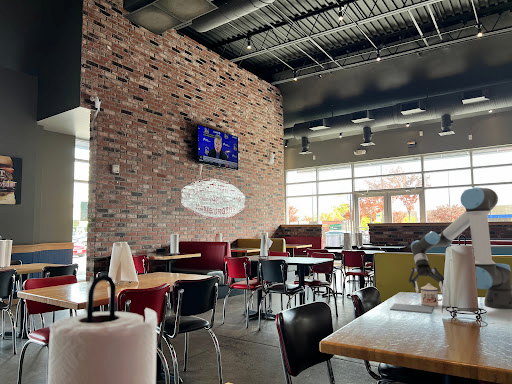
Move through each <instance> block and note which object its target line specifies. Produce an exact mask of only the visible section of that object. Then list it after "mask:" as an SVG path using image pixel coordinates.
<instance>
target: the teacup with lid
mask: <svg viewBox="0 0 512 384" xmlns="http://www.w3.org/2000/svg"><path fill="white" fill-rule="evenodd" d="M439 294H441V295H442V296H443V294H444V293H442V292H441V291H439V289H438V288H437V287H435V286H433V285H432V283H427V284H426V285H423V286H421V287H420V299H421V300H420V301H421V305H422V306H434V307H437V306H439V302H441V301H443V300H442V298H441V299H439Z"/></svg>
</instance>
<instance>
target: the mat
mask: <svg viewBox="0 0 512 384" xmlns="http://www.w3.org/2000/svg"><path fill="white" fill-rule="evenodd" d="M434 307H435V306H426V305H422V304H406V303H395V302H394V304H393V305H392V306H391V307H390V308H389V311H401V312H409V313H411V312H412V313H422V314H423V313H424V314H432V312H433V311H434Z"/></svg>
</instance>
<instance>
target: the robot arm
mask: <svg viewBox="0 0 512 384" xmlns="http://www.w3.org/2000/svg"><path fill="white" fill-rule="evenodd" d="M498 202H499V196H498V193H496V191H494V190H493V189H491V188H488V187H487V188H486V187H469V188H467V189H464V191H463V192H462V193H461V195H460V203H461V206H462V207H464V208H465V210H464V212H463V213H462V214H460V215H459V216H458V217H457V218H456V219H455V220H453V222H452V223H450V224H449V225H448V226H447V227H446V228H445V229H444V230H443V231H441V232H440V233H439V234H438V233H437V232H435V231H434V230H433V231H432V230H431V231H430V232H428V233H426V234H425V235H424V236H423V237H422V238H421V239H420V240H415V241H412V242H411V243H410V250H411V252H412V255H413V260H414V264H415V267H416V268H415V267H412V268H411V273H410V275H409V278H408V283H411V285H412V287H413V288H414V289H415V293H416V294H419V291H420V290H419V286H418V283H417V281H418V279H419V278H420V277H421V276H422V277H430V278H432V279H434V280H435V281H436V282H437V283H438V286H439V289H440V292H442V293H443V280H444V278H445V277H444V276H443V275H442V274H441V273H440V272H439V271H438V269H437V268H436V267H433V268H431V267H430V262H429V259H428V256H427V252H429V251H430V250H431V249H432V248H439V247H444V248H445V247H450V246H451V245H452V244H453V241H454V240H455V239H456V238H457V237H459V235H461V234H462V233H463V232H465V230H466V229H468V227H470V237H471V245H472V246H473V248H474V256H475V266H476V278H477V288H476V289H478V290H486V293H485V296H484V306H487V307H491V308H495V309H508V310H509V309H512V270H511V266H510V265H509V264H506V263H498V262H495V261H494V260H493V258H492V248H491V239H490V237H491V236H490V227H489V226H490V225H489V217H488V215H489V214H490V213H491V211H492V210H494V208H495V207H496V206H497V204H498ZM472 246H471V247H472ZM415 273H417V274H416V275H415V276H414V274H415ZM413 277H414V278H413ZM443 294H444V293H443Z"/></svg>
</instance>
